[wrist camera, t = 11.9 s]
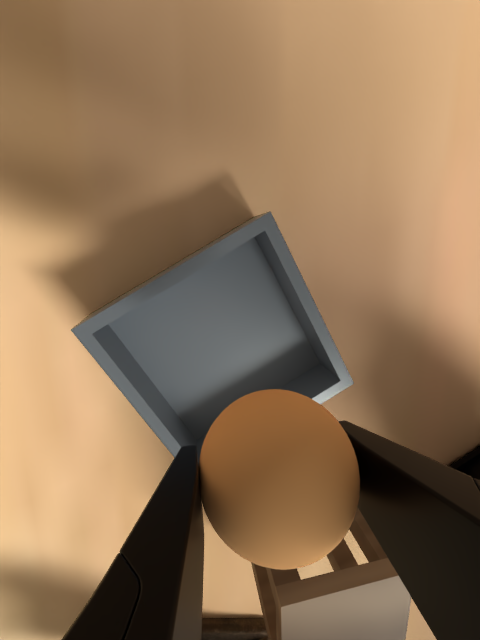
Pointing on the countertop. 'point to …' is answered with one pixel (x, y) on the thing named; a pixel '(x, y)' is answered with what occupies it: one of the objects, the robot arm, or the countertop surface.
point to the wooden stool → (337, 596)
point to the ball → (279, 479)
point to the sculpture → (233, 629)
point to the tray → (215, 335)
